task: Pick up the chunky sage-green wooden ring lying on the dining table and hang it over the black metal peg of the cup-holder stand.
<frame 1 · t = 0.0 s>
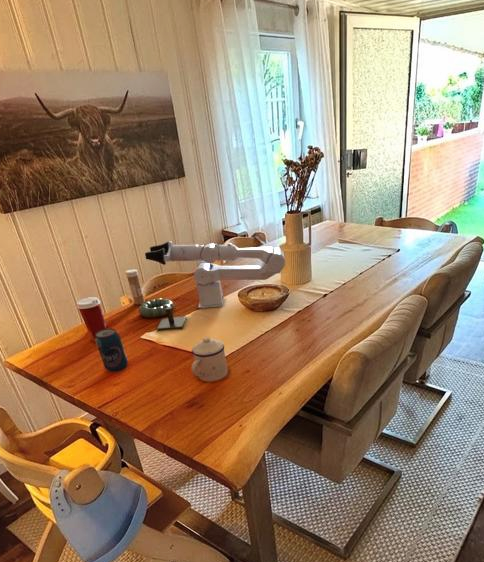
hand: (148, 252, 159), 22 cm above the table, tool horizontal, fingers open, 7 cm apart
soda can: (117, 368, 133), on the table
teacup with lid: (210, 377, 124), on the table
holder: (172, 324, 157), on the table
ring: (156, 307, 167), point 2 cm above the table
paper cup: (100, 338, 152), on the table
sprinkles bottle: (140, 303, 179), on the table
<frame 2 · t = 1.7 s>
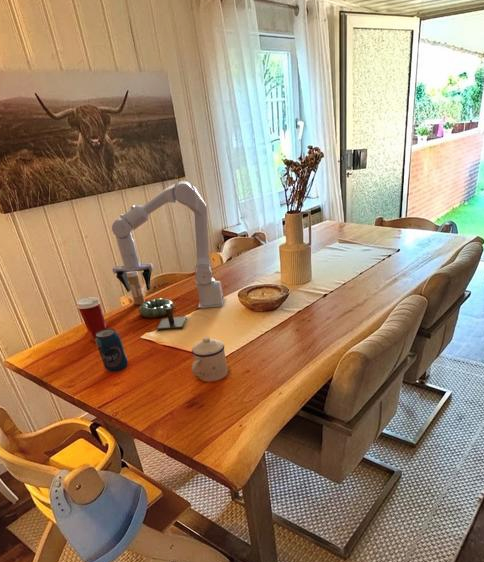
hand: (139, 290, 163), 9 cm above the table, tool pointing down, fingers open, 7 cm apart
nothing on the table moved.
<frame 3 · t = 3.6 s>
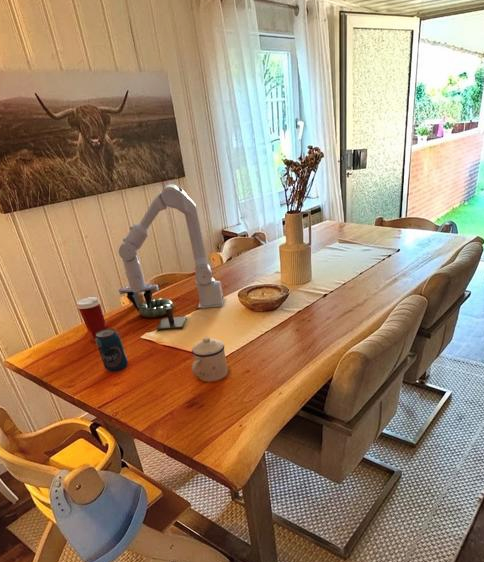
hand: (144, 309, 168), 1 cm above the table, tool pointing down, fingers closed on ring, 4 cm apart
ring: (156, 307, 167), point 2 cm above the table, touching gripper
everything else where it was.
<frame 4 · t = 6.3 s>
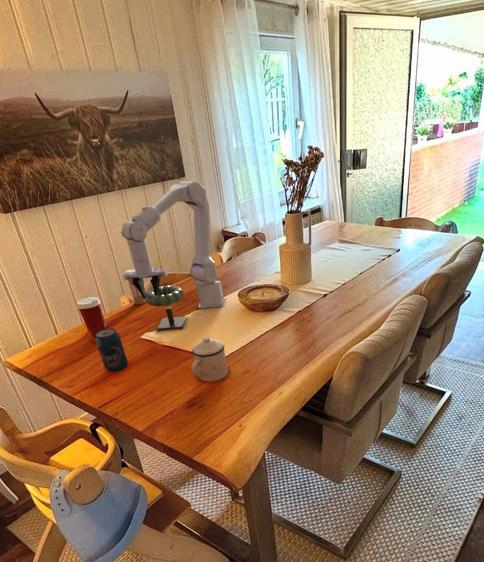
hand: (151, 298, 152), 10 cm above the table, tool pointing down, fingers closed on ring, 4 cm apart
ring: (164, 295, 152), point 11 cm above the table, touching gripper
everything else where it was.
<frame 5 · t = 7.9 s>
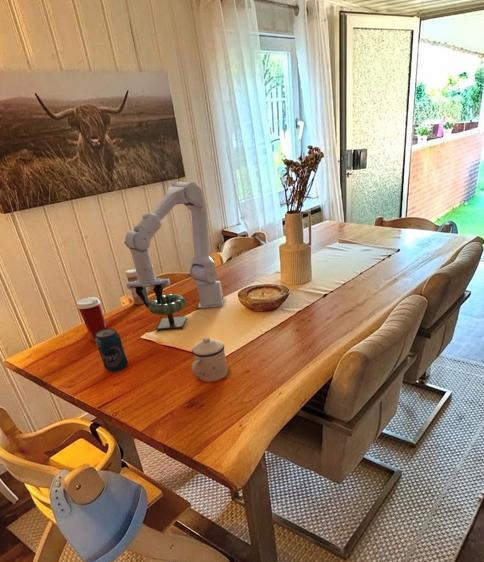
hand: (154, 306, 153), 8 cm above the table, tool pointing down, fingers closed on ring, 4 cm apart
ring: (167, 304, 152), point 8 cm above the table, touching gripper
everything else where it was.
when the fingers open (5 cm above the table, at t = 9.1 s): ring drops 3 cm, resting on holder.
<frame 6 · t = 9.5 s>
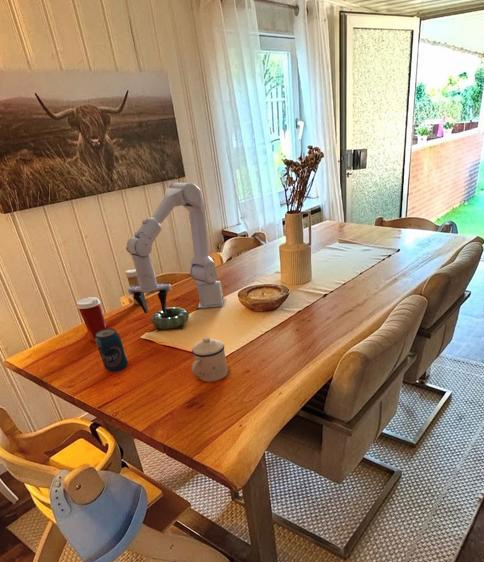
hand: (155, 311, 154), 6 cm above the table, tool pointing down, fingers open, 6 cm apart
ring: (170, 317, 155), point 3 cm above the table, touching holder
everything else where it was.
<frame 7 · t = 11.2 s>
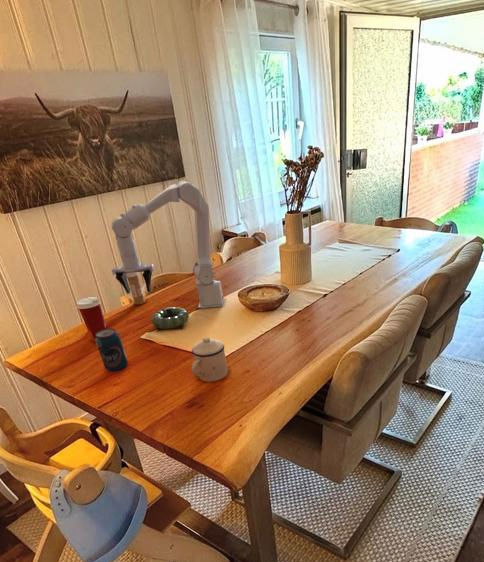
hand: (139, 291, 158), 10 cm above the table, tool pointing down, fingers open, 7 cm apart
nothing on the table moved.
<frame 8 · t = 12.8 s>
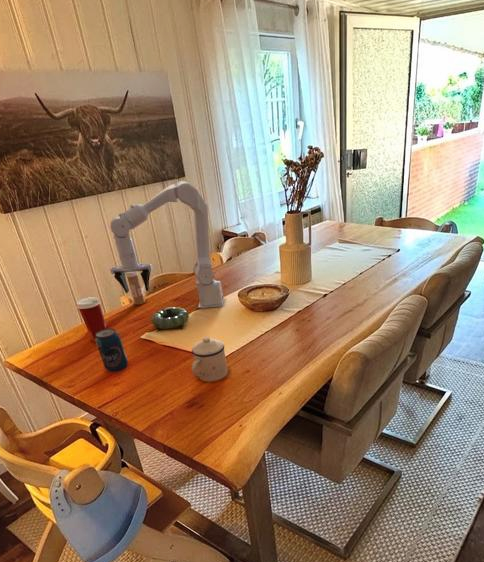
hand: (137, 291, 159), 10 cm above the table, tool pointing down, fingers open, 7 cm apart
nothing on the table moved.
at the end: ring 0.2 cm from the holder (horizontally); ring point 2.8 cm above the table; the gripper is holding nothing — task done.
